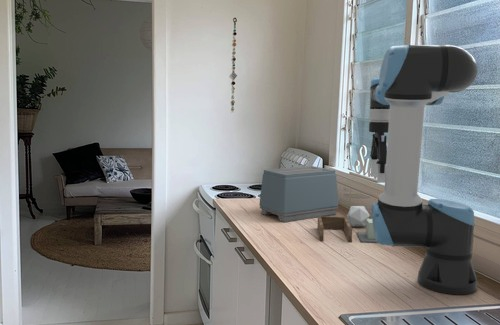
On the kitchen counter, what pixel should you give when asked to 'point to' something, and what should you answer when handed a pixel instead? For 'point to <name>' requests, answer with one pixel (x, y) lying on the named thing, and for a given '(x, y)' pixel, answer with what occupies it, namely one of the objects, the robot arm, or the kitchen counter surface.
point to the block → (370, 229)
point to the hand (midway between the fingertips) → (377, 179)
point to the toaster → (299, 193)
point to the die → (357, 216)
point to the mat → (365, 238)
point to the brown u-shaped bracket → (334, 225)
